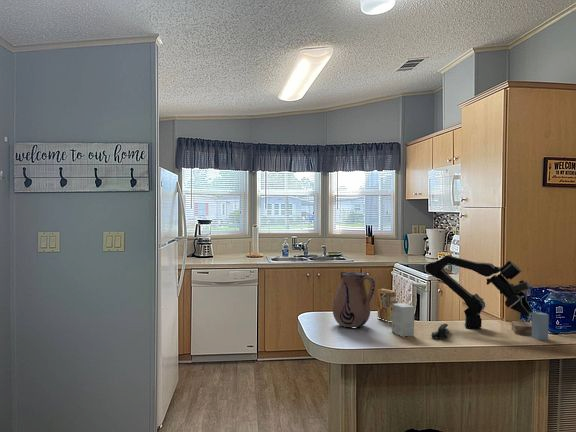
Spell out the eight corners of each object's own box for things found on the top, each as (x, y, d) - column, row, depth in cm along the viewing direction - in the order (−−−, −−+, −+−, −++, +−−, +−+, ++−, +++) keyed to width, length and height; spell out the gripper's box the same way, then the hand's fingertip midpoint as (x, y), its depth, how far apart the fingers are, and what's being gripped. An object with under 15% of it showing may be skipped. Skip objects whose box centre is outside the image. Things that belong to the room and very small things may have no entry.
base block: (515, 334, 203) (515, 325, 203) (511, 329, 212) (511, 321, 212) (537, 336, 201) (537, 327, 201) (532, 331, 209) (532, 322, 209)
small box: (414, 336, 196) (414, 306, 196) (401, 337, 194) (402, 307, 193) (403, 331, 203) (404, 302, 203) (391, 332, 201) (392, 303, 201)
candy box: (396, 322, 220) (396, 291, 220) (389, 323, 218) (390, 291, 218) (382, 318, 228) (383, 288, 227) (376, 319, 225) (377, 288, 225)
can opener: (446, 342, 188) (447, 328, 188) (429, 339, 192) (430, 326, 192) (454, 332, 204) (454, 320, 204) (438, 330, 207) (439, 318, 207)
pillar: (538, 340, 193) (539, 314, 193) (531, 337, 198) (532, 312, 198) (548, 339, 194) (548, 314, 194) (540, 337, 198) (541, 312, 198)
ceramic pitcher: (343, 319, 223) (344, 269, 223) (383, 326, 211) (384, 273, 210) (325, 326, 209) (326, 273, 209) (366, 334, 197) (367, 277, 196)
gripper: (513, 277, 194) (542, 306, 187) (521, 272, 209) (548, 299, 202) (493, 293, 198) (521, 321, 192) (502, 287, 213) (528, 314, 207)
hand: (530, 313), depth 198 cm, fingers open, 9 cm apart
